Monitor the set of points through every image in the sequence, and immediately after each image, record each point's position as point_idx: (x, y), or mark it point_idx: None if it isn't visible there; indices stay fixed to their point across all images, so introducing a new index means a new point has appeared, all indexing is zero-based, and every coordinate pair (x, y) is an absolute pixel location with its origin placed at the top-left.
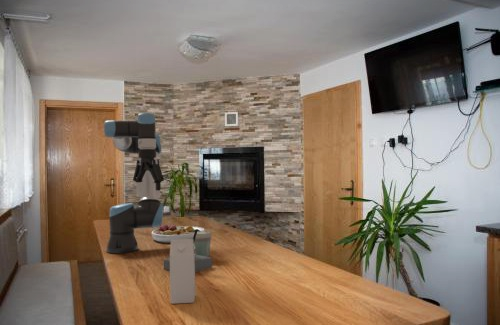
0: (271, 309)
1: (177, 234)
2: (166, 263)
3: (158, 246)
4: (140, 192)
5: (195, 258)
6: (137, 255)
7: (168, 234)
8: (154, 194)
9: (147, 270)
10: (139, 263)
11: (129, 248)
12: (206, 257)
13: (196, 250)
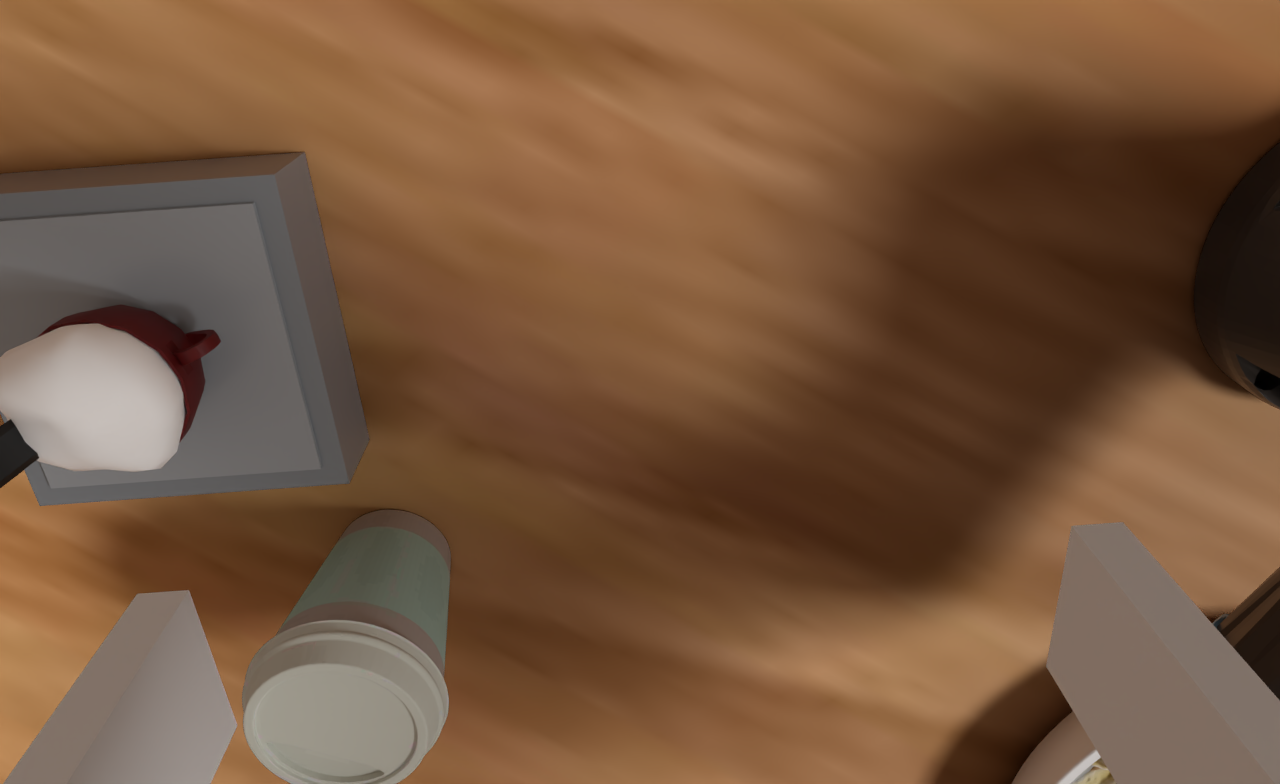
0: None
1: None
2: (230, 169)
3: None
4: (1123, 701)
5: None
6: (1005, 248)
7: None
8: (113, 674)
9: (371, 14)
10: (691, 98)
11: (1222, 271)
12: (50, 473)
13: (364, 553)
